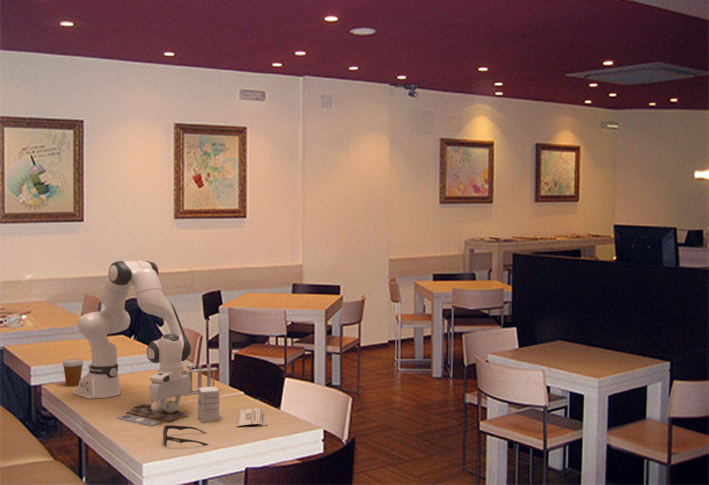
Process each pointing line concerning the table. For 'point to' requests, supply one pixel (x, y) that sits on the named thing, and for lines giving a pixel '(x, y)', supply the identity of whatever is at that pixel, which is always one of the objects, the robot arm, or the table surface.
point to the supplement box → (208, 404)
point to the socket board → (162, 416)
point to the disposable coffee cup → (72, 371)
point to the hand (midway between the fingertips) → (170, 407)
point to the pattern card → (140, 420)
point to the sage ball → (171, 406)
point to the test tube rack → (200, 377)
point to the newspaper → (251, 417)
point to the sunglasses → (179, 438)
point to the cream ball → (156, 407)
